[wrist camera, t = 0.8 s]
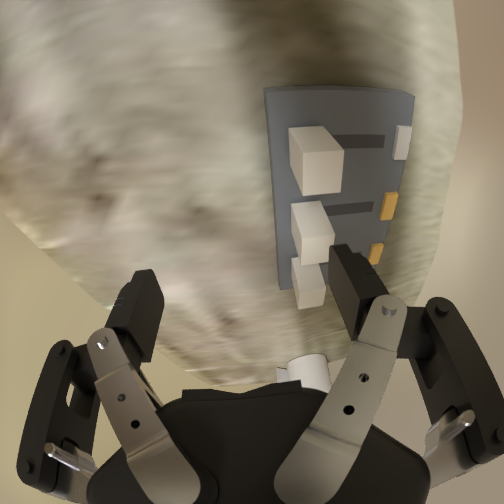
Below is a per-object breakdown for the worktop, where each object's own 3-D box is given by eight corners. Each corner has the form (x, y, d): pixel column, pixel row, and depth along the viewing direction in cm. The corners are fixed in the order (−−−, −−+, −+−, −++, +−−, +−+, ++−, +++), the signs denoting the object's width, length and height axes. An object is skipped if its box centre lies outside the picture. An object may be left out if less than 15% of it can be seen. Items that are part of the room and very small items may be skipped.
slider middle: (291, 203, 26) (301, 238, 23) (320, 200, 26) (335, 234, 23) (291, 230, 29) (300, 265, 25) (318, 227, 29) (330, 261, 25)
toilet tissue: (332, 358, 67) (339, 392, 60) (295, 372, 72) (300, 404, 65) (314, 350, 60) (322, 388, 54) (274, 365, 65) (278, 401, 58)
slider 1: (288, 128, 21) (302, 153, 17) (322, 125, 20) (344, 150, 17) (289, 164, 23) (302, 195, 20) (322, 162, 23) (340, 192, 20)
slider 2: (291, 258, 32) (299, 292, 29) (315, 254, 32) (326, 288, 29) (291, 276, 35) (298, 309, 31) (313, 273, 35) (322, 305, 31)
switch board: (263, 88, 20) (267, 93, 18) (403, 90, 20) (417, 98, 18) (278, 278, 39) (280, 293, 37) (368, 265, 38) (373, 278, 37)
